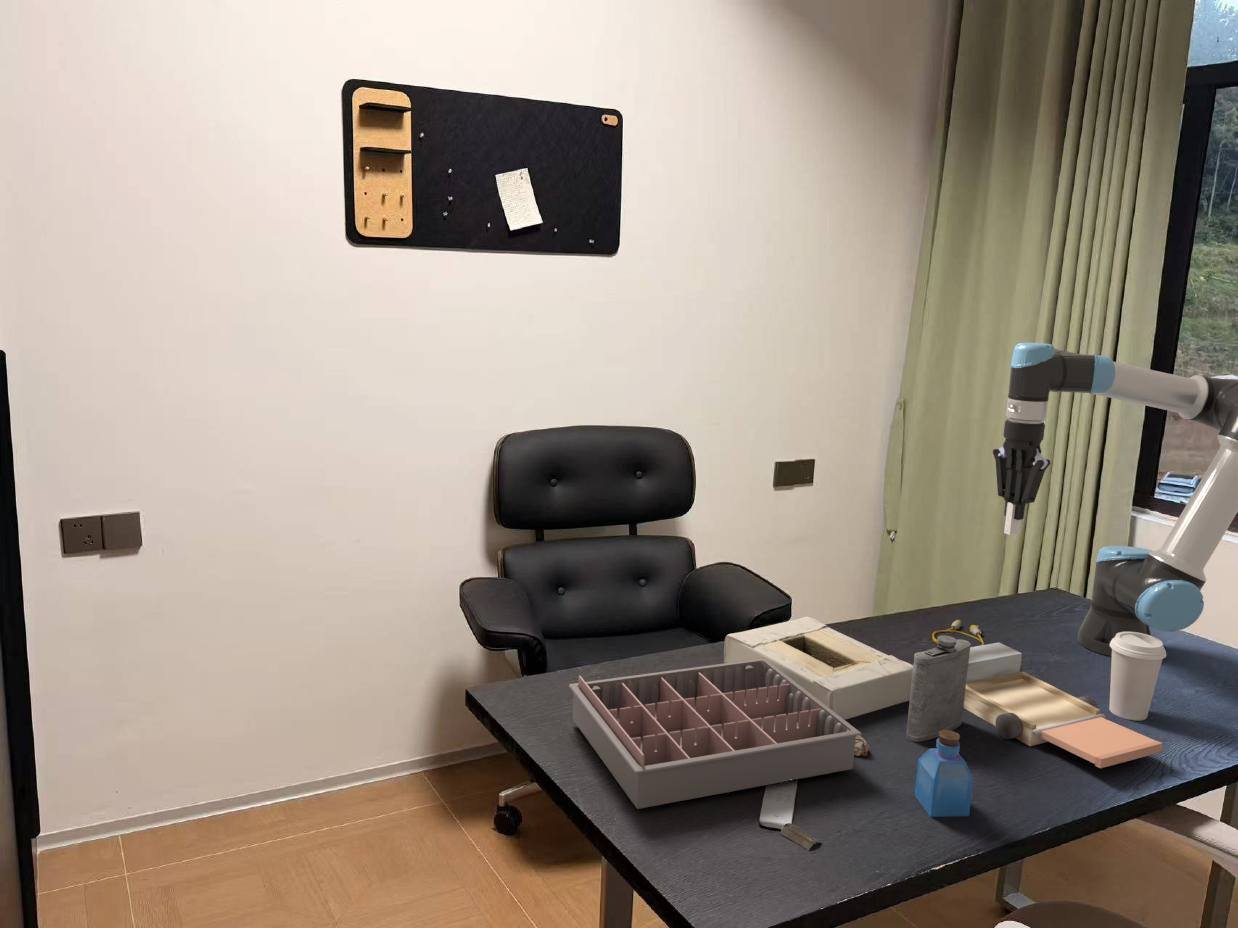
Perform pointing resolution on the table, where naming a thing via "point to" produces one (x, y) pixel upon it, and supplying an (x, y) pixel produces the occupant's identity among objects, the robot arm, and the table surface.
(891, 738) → the table surface
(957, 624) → the extension cord
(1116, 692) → the coffee cup
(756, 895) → the table surface
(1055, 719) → the truck bed
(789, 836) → the block
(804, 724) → the organizer tray
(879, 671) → the box
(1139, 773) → the table surface
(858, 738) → the mineral rock
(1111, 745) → the tailgate
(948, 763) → the perfume bottle
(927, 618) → the table surface
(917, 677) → the flask
